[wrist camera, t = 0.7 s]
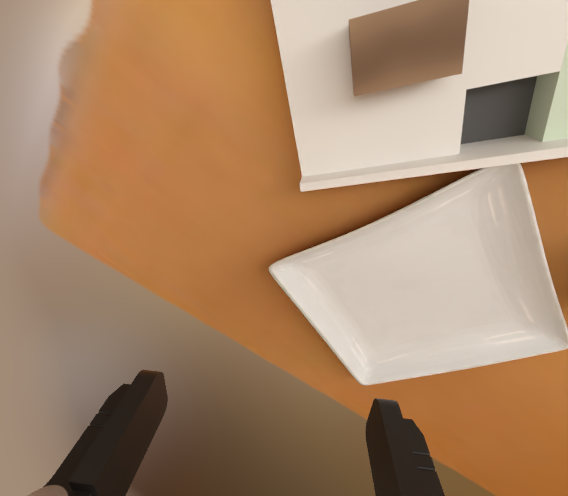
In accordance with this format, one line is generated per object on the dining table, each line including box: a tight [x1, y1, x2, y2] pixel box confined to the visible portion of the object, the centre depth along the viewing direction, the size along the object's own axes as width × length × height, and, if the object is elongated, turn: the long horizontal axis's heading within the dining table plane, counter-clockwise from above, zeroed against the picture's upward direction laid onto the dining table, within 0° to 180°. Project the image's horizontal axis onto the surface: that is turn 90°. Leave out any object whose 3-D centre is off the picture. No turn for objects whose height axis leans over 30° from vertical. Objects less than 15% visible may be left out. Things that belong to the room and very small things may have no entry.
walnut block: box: [349, 0, 469, 96], centre depth 20 cm, size 4×7×4 cm, turn 102°
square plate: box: [269, 163, 568, 385], centre depth 36 cm, size 27×27×4 cm
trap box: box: [271, 0, 568, 192], centre depth 20 cm, size 19×29×5 cm, turn 102°
